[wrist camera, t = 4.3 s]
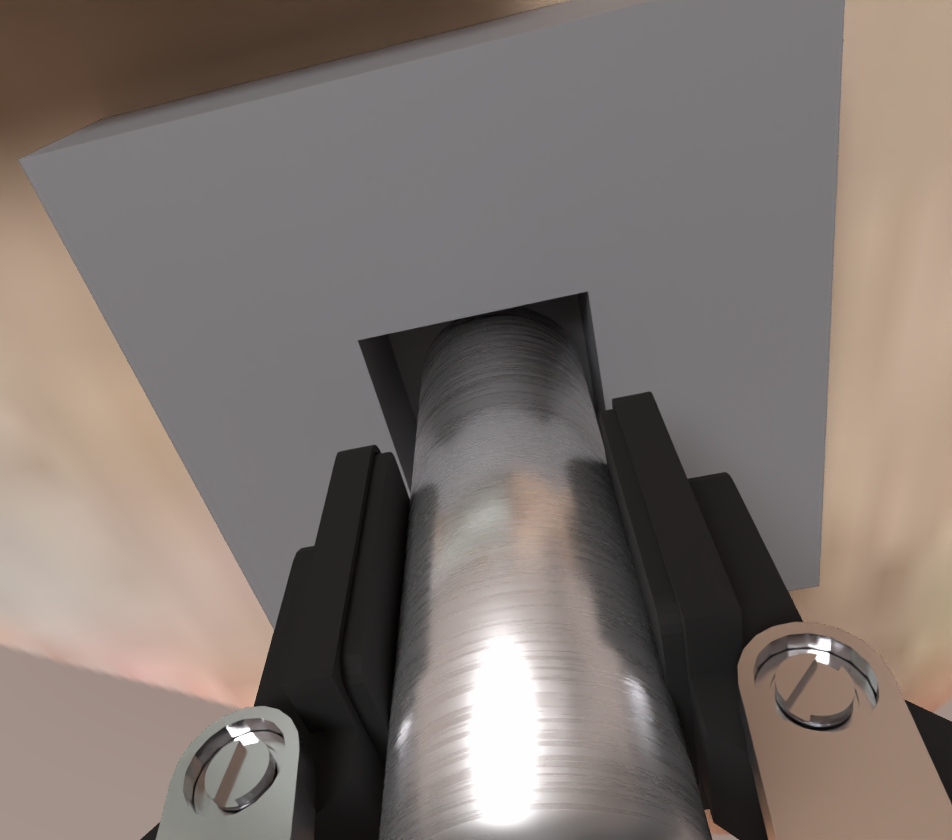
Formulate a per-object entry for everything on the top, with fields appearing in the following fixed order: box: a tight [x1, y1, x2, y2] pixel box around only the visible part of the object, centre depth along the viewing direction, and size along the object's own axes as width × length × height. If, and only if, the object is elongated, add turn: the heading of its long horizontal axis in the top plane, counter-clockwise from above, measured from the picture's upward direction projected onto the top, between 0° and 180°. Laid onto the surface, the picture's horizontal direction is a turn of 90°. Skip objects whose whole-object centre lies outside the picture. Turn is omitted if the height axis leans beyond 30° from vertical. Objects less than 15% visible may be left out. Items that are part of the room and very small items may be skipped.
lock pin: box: [379, 306, 712, 840], centre depth 10 cm, size 3×3×9 cm
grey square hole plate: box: [18, 0, 845, 629], centre depth 15 cm, size 12×12×3 cm
